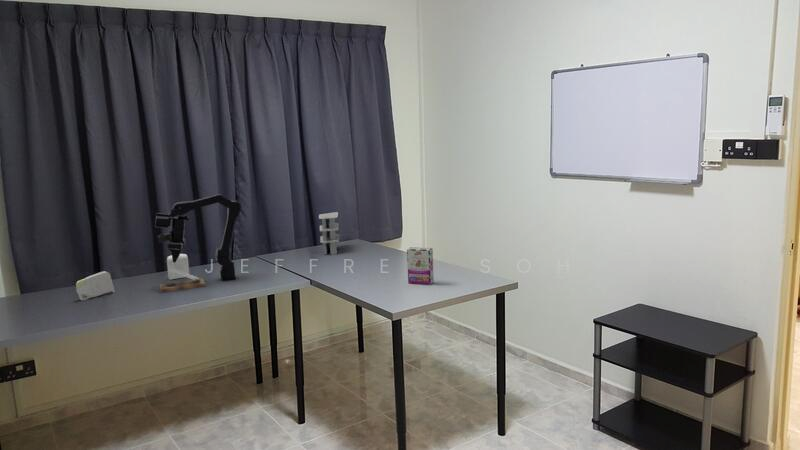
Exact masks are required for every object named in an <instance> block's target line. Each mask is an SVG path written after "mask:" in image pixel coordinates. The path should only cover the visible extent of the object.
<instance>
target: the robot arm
mask: <svg viewBox="0 0 800 450" xmlns="http://www.w3.org/2000/svg"><path fill="white" fill-rule="evenodd" d="M218 203H219V204H220V205H222V206H224V207H225V208H226V209H227V210H226V211H227V212H226V214H227V216H226V223H225V227H224V232H223V237H222V241H221V244H220V246H219V247H216V250H215V253H214V256H215V260H216V262H217V264H219V265H220V269H219V277H220V280H222V281H229V280H236V279H237V277H236V271H235V262H234V261H233V260H232V259H231V258H230V248H231V247H230V245H231V242H232V236H233V233H234V228H235V224H236V220H237V218H238V217H239V214H240V212H241V209H242V205H241V204H240V202H238V201H237V200H235V199H234V200H231V199H229V198H227V197H225V196H223V195H222V194H220V193H215V194H214V195H210V196H206V197H202V198H199V199H195V200H190V201H186V200H185V201H178V202H176V203H174V204H173V206H172V209H171V210H170V211H169V212H168V213H160V212H156V215H155V219H154V220H155V221H154V223H155V224H154V228H163V229H168V227H171V230H170V232H168V233H161V234H159V235H158V236H157V238H158V239H157V240H158V243H159V244H162V243H165V242H168V241H169V242H168V244H167V250H169V252H171V255H172V259H173V262H174V263H175V262H176V260H177V259H178V257H179V255H180V254H182V251H183V249H184V247H185V244H186V238H184V237H185V231H186V230H185V225H186V224H185V223H186V221H190V217H189V216H188V215H187V214H188V213H190V212H191V211H193V210H195V209H199V208H203V207H207V206H209V205H210V206H211V205H215V204H218Z"/></svg>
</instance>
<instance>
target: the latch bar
mask: <svg viewBox="0 0 800 450" xmlns="http://www.w3.org/2000/svg"><path fill="white" fill-rule="evenodd" d="M169 271H171V272H174V273H177V274H179V275H182V276H185V277H184V278H187V279H189V280H195V281H196V279H200V276H195V275H192V274H190V273H189V274H188V273H185V272H183V271H180V270H177V269H175V268H172V267H170V268H169Z"/></svg>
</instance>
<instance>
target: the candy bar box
mask: <svg viewBox="0 0 800 450" xmlns="http://www.w3.org/2000/svg"><path fill="white" fill-rule="evenodd" d="M406 259H407V277H408V278H407V280H408V281H407V283H408V284H413V285H426V286H427V285H429V286H431V285H432V284H433V283H434V278H435V277H434V255H433V247H409V248H407V249H406Z"/></svg>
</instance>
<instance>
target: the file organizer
mask: <svg viewBox="0 0 800 450" xmlns="http://www.w3.org/2000/svg"><path fill="white" fill-rule="evenodd" d="M338 215H339V212H336V211H333V212H328V213H321V214H318V220H321V223H322V224H321V225H319V232H322V235H321V236H319V237H320V240H319V241H320V244H322V245H323V246H322V247H323V255H324V254H326V255H327V253H328V250H329V251H330V252H329V253H330V255H337V253H338V252H337V250H338V249H337V248H338V243H339V242H340V234H339V233H337V232H336V231H339V227H340V225H339V222H336V218H338ZM326 252H327V253H326Z"/></svg>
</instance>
